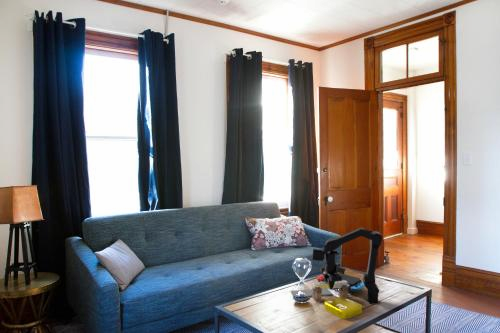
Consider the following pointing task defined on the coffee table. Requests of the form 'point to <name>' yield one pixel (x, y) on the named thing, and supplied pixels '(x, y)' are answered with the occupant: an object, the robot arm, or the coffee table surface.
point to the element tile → (343, 307)
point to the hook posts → (318, 293)
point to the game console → (353, 282)
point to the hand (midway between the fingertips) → (330, 288)
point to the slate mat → (310, 292)
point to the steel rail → (326, 285)
